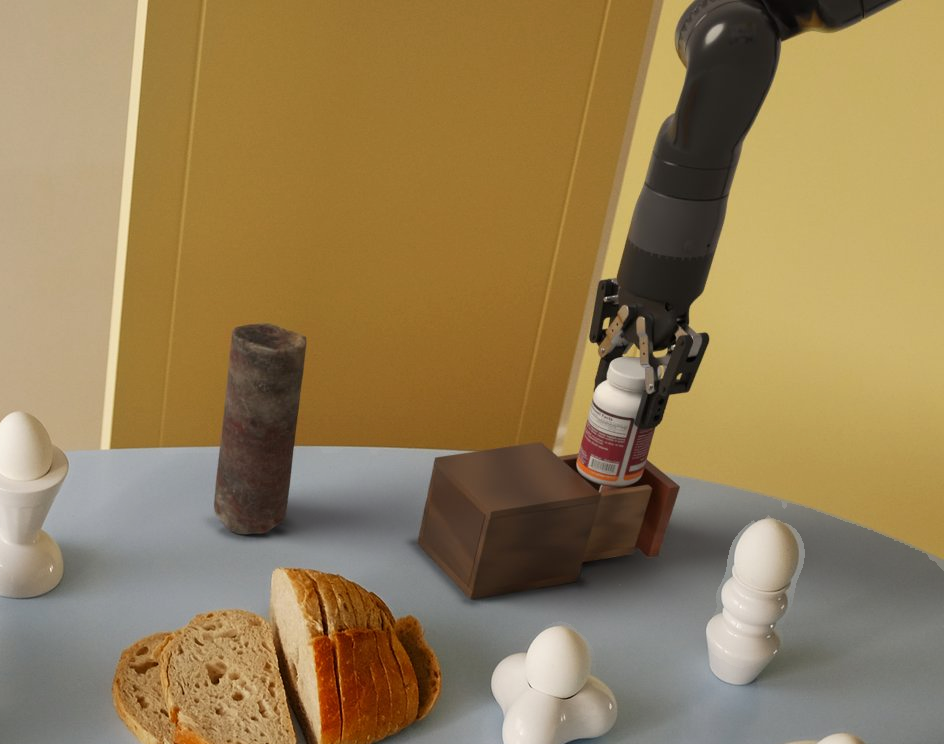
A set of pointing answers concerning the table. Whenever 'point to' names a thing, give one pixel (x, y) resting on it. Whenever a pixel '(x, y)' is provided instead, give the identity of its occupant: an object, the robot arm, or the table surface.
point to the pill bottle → (616, 427)
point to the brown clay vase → (259, 427)
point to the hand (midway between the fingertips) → (624, 409)
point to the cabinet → (507, 519)
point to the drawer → (630, 514)
